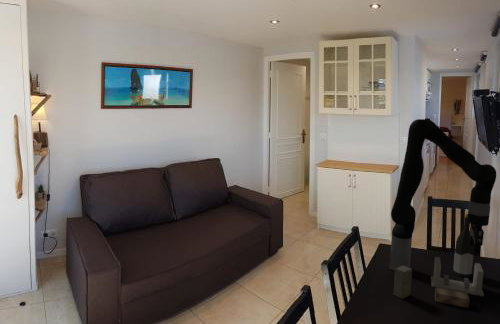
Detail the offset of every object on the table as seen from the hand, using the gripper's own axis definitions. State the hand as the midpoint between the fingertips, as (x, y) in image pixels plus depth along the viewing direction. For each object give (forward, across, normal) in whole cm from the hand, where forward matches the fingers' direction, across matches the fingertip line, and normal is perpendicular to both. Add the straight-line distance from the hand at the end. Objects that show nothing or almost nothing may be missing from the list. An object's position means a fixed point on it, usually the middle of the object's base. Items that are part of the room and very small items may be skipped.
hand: (474, 249), depth 150 cm
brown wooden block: (+22, +8, -8) cm, 24 cm away
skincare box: (+22, +10, -27) cm, 36 cm away
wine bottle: (+22, -23, 0) cm, 31 cm away
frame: (+21, -7, -4) cm, 23 cm away
